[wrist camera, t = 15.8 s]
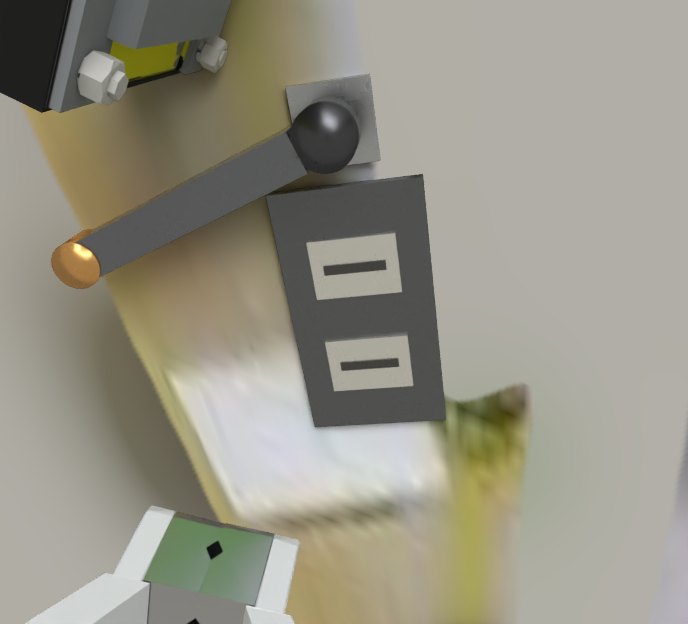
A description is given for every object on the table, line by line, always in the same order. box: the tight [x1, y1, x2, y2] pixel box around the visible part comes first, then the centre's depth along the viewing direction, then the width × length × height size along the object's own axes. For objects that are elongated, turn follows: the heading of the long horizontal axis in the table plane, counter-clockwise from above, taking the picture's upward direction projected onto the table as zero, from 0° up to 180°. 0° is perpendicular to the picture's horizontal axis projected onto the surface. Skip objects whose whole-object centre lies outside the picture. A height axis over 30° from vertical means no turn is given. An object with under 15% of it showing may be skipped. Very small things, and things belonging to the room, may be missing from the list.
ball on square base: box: [286, 74, 380, 165], centre depth 43 cm, size 6×6×3 cm
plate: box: [266, 174, 446, 427], centre depth 50 cm, size 12×22×1 cm, turn 9°
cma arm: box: [51, 97, 361, 289], centre depth 43 cm, size 25×4×3 cm, turn 117°
